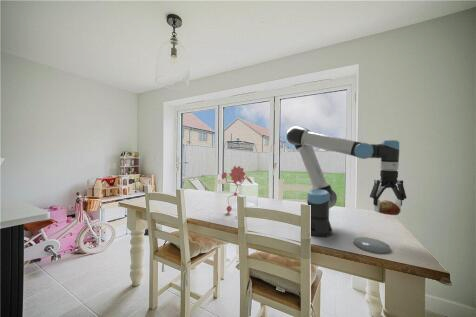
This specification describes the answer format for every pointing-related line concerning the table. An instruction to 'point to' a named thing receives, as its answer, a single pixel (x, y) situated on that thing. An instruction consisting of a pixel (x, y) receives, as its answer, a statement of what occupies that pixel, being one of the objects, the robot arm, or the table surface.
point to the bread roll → (389, 208)
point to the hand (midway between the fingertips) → (387, 211)
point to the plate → (371, 245)
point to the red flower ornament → (235, 180)
